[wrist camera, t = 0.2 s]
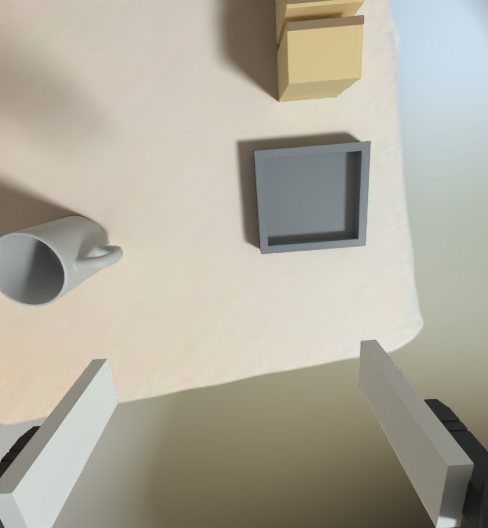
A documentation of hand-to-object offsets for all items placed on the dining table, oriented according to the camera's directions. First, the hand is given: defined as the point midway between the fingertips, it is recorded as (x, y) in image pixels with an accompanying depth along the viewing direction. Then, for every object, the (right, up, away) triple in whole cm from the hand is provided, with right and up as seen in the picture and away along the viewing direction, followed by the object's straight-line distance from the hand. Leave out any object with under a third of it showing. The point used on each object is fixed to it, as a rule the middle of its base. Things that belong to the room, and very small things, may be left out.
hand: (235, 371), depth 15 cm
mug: (-21, +8, +26) cm, 35 cm away
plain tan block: (+8, +28, +20) cm, 35 cm away
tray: (+9, +14, +24) cm, 30 cm away
